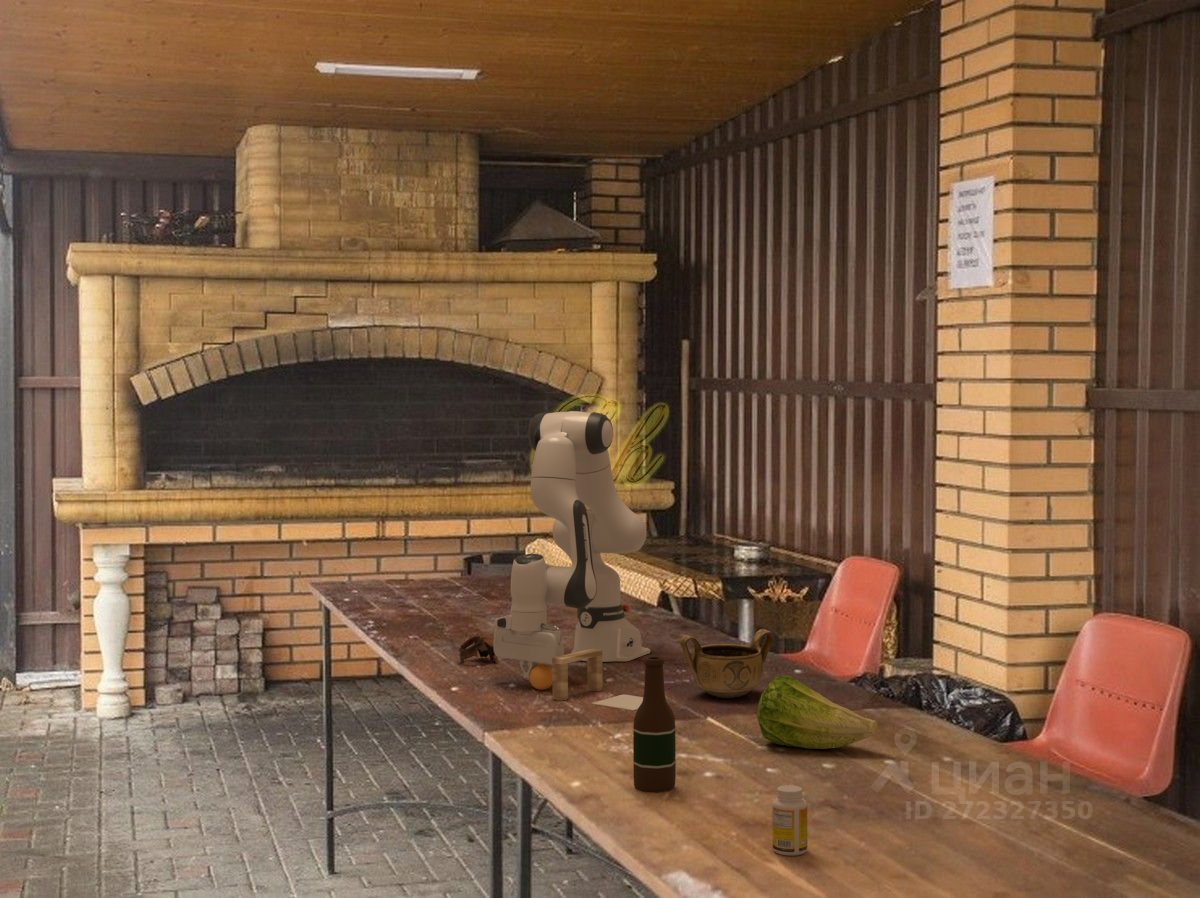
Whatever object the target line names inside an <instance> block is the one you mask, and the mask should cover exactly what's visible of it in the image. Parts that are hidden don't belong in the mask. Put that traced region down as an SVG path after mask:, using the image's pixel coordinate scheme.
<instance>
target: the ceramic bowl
mask: <svg viewBox="0 0 1200 898" xmlns="http://www.w3.org/2000/svg"><path fill="white" fill-rule="evenodd" d="M764 637H765V639H764V641H763V643H762V645H760V644H761V641H762V639H763V638H764ZM689 640H690V641H691V643H693V646H694V650H693V654H692V655H691V652H690V650H689V647H688V645H687V644H688V642H689ZM679 642H680V648H681V650H682V652H683V654H684V658H685V659H686V662H687V664H688V666H689V669H690V670H691V672H692V675H693V677H694V680H695V682H696V684H697V685H698V686H699V688H700V689H702V690H703V691H705V693H708V694H709V695H711V696H713V697H715V696H716V698H719V697H722V698H721V699H735V697H737V698H740V697H742V696H745V695H746V694H748V693H749V692H751V691H753V690H754V688H756V686H757V685H759V683H760V681H761V679H762V675H763V670H764V663H765V660H766V658H767V656H768V654H769V652H770V649H771V647H772V645H773V642H774V634H773V632H772V631H769V630H768V629H765V628H762V629H759V630H758V631H756V633H755V634H754V635H753V637H752V640H751V643H750V645H746V644H734V643H733V644H730V643H716V644H714V643H713V644H705V645H701V644H700V642H699V641H698V640H697V638H695V637H694V636H691V635H687V634H686V635H683V636H682V637H681V639H680V641H679Z"/></svg>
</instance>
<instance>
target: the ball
mask: <svg viewBox="0 0 1200 898" xmlns="http://www.w3.org/2000/svg"><path fill="white" fill-rule="evenodd" d="M529 678H530V680H529V681H530V684H531V686H533V688H534V689H537V690H539V691H544V690H545V691H546V690H547V689H549V688H551V686H552V667H550V666H549V665H548V664H538V665H537V666H535V667H534V668H533V669H532V670H531V672H530V676H529Z"/></svg>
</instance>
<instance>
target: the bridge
mask: <svg viewBox="0 0 1200 898" xmlns="http://www.w3.org/2000/svg"><path fill="white" fill-rule="evenodd" d="M583 659H587V661H586V662H587V667H586V668H587V669H586V670H587V671H586V672H587V673H586V674H587V681H586V682H587V683H586V685H587V691H591V692H602V691H603V687H604V686H603V682H604V681H603V662H602V650H599V649H589V650H584V651H580V652H576V653H571V652H570V653H568V654H564V655H563V656H558V657H554V658H552V665H551V669H552V685H551V686H552V700H554V699H556V700H557V701H560V700H561V701H562V702H563V700H564V701H567V699H569V685H568V684H569V682H568V681H569V676H568V675H569V674H568V673H569V670H568V669H569V668H568V667H569V664H570V663H574V662H579V661H582V660H583ZM556 700H555V701H556Z"/></svg>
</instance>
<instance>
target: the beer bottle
mask: <svg viewBox="0 0 1200 898" xmlns="http://www.w3.org/2000/svg"><path fill="white" fill-rule="evenodd" d="M664 660H665V659H664V658H662V657H661V656H647V657H646V658H645V659H644V661H643V664H644V665H645V670H644V671H645V672H644V686H643V687H644V688H643V696H642V697H643V702H642V703H641V705H640V706H639V708H638V710H636V712H635V715H634V718H633V726H632V728H633V729H632V731H633V733H632V734H633V736H632V737H633V738H632V739H633V743H632V744H633V757H632V758H633V759H632V760H633V764H632V765H633V786H634V788H635V789H637V790H638V791H641V792H644V793H645V792H648V793H661V792H662V793H663V792H669V791H672V789H673V788H674V787H675V786H676V771H677V770H676V762H677V761H676V758H677V757H676V755H677V754H676V719H675V716H674V712H673V710H672V708H671V707H670V705H669V703H668V702H667V699H666V694H665V693H666V692H665V679H664V664H665V661H664Z"/></svg>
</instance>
